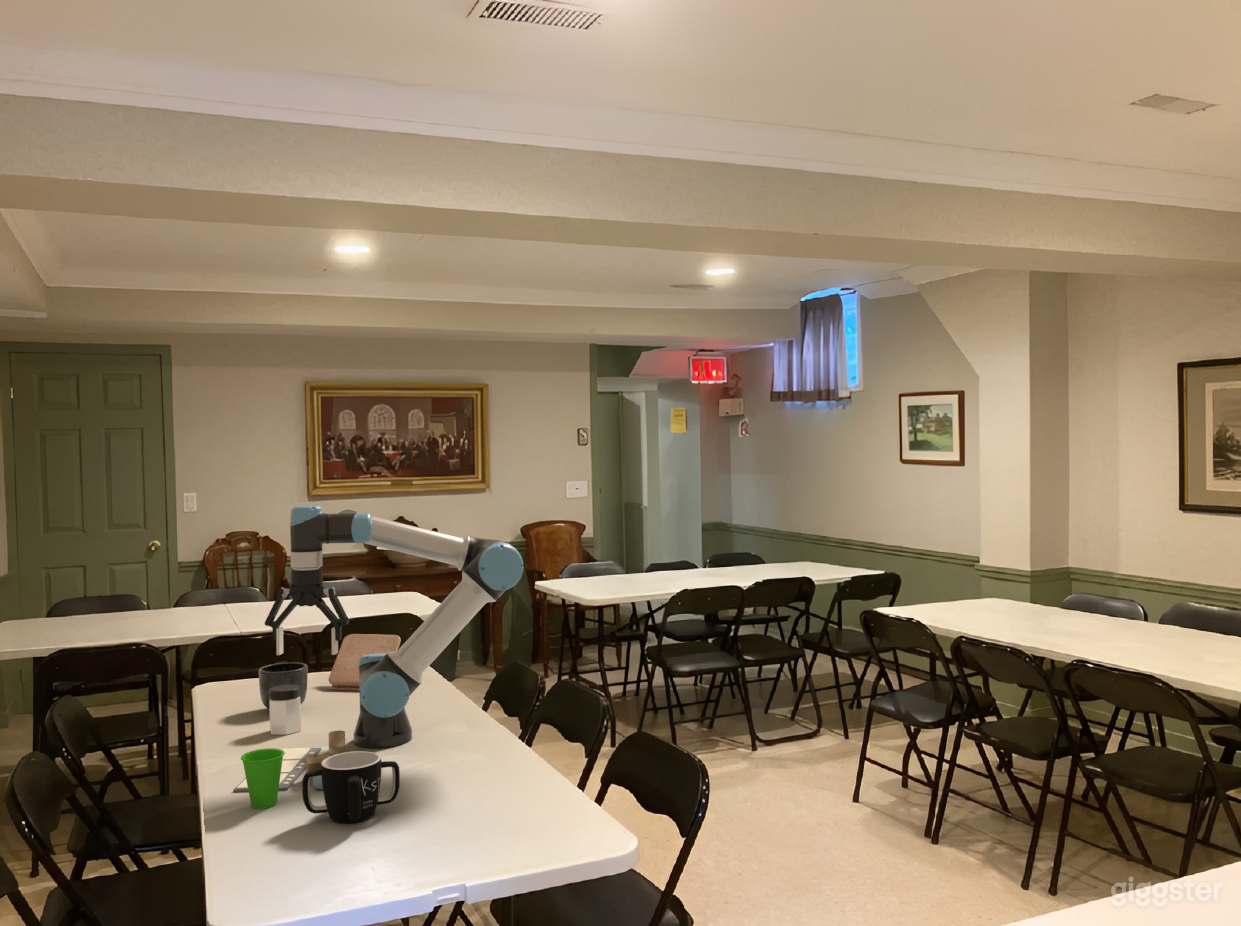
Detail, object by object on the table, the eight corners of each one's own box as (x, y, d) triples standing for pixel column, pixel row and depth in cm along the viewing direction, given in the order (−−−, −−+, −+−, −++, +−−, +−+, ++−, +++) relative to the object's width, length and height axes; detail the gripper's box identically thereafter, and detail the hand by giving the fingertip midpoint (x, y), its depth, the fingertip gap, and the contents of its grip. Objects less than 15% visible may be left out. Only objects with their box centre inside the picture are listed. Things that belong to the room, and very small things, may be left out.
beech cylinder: (347, 753, 245) (346, 730, 245) (343, 758, 241) (342, 734, 241) (331, 754, 245) (330, 730, 245) (327, 759, 241) (326, 735, 241)
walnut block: (328, 775, 229) (328, 754, 229) (331, 782, 224) (330, 760, 224) (306, 779, 227) (306, 757, 227) (308, 785, 222) (308, 764, 222)
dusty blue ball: (331, 785, 221) (330, 770, 221) (327, 791, 218) (326, 775, 218) (315, 786, 221) (314, 770, 221) (311, 791, 218) (310, 775, 217)
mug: (349, 837, 191) (348, 776, 191) (295, 822, 199) (294, 764, 199) (408, 810, 205) (407, 754, 205) (355, 797, 213) (354, 743, 213)
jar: (268, 728, 270) (268, 685, 270) (299, 725, 273) (298, 682, 273) (270, 737, 261) (269, 693, 261) (302, 733, 265) (301, 689, 264)
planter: (318, 707, 292) (317, 664, 292) (280, 718, 280) (279, 674, 280) (288, 701, 299) (287, 660, 299) (249, 712, 288) (248, 669, 287)
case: (325, 691, 313) (325, 642, 313) (354, 676, 334) (353, 630, 334) (385, 693, 310) (384, 643, 309) (410, 678, 330) (409, 631, 330)
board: (321, 749, 249) (321, 746, 249) (287, 789, 219) (287, 786, 219) (273, 751, 248) (273, 748, 248) (233, 791, 218) (233, 788, 218)
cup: (244, 815, 204) (243, 763, 204) (239, 802, 212) (238, 752, 212) (288, 807, 208) (287, 756, 208) (282, 794, 216) (281, 745, 216)
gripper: (361, 566, 242) (361, 650, 242) (262, 566, 242) (262, 651, 242) (352, 569, 235) (353, 656, 235) (250, 570, 235) (251, 657, 235)
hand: (307, 653), depth 239 cm, fingers open, 13 cm apart
